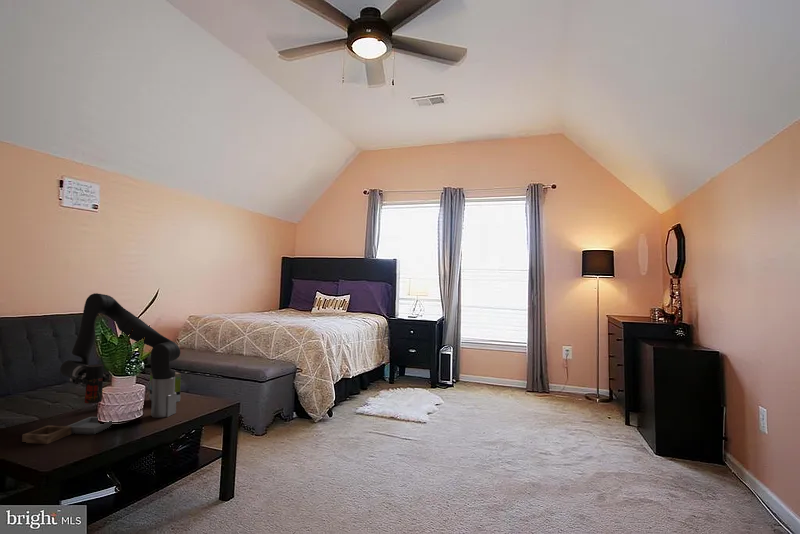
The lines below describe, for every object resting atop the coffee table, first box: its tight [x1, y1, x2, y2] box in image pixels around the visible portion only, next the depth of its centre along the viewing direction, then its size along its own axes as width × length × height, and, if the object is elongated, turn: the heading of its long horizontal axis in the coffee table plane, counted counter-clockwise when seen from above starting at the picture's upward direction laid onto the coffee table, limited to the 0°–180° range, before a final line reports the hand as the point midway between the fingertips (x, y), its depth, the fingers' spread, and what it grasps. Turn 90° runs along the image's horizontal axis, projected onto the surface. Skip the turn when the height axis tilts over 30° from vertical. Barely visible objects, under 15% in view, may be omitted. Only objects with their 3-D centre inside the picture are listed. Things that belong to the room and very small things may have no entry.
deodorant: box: [84, 363, 105, 404], centre depth 176 cm, size 6×6×15 cm
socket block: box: [21, 425, 72, 445], centre depth 164 cm, size 10×10×3 cm
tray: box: [67, 416, 112, 435], centre depth 176 cm, size 13×13×2 cm
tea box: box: [148, 371, 182, 403], centre depth 218 cm, size 15×10×15 cm, turn 50°
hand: (96, 380), depth 175 cm, fingers closed on deodorant, 6 cm apart
